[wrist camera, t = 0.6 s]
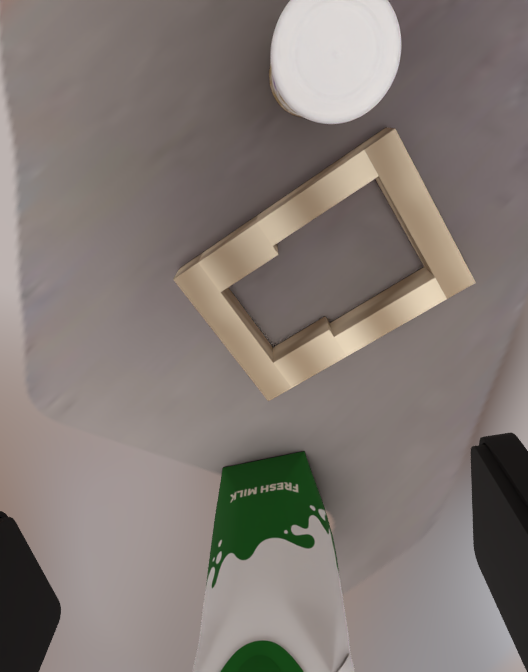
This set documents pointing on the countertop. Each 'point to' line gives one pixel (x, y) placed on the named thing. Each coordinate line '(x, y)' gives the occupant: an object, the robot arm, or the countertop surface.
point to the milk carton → (272, 575)
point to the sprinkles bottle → (334, 57)
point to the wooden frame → (358, 324)
